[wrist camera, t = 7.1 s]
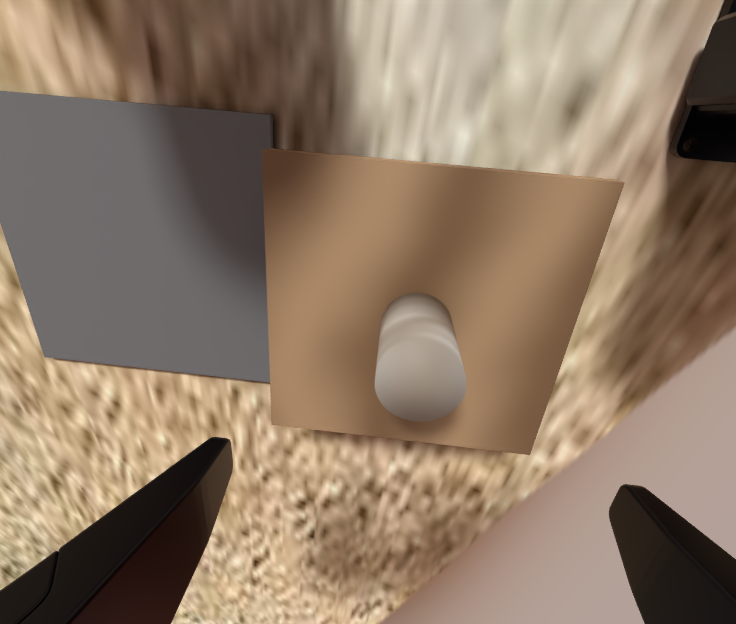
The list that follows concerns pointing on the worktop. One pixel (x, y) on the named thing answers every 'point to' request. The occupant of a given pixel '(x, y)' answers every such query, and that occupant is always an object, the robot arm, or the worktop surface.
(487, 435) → the lid
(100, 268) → the mat
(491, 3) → the worktop surface
